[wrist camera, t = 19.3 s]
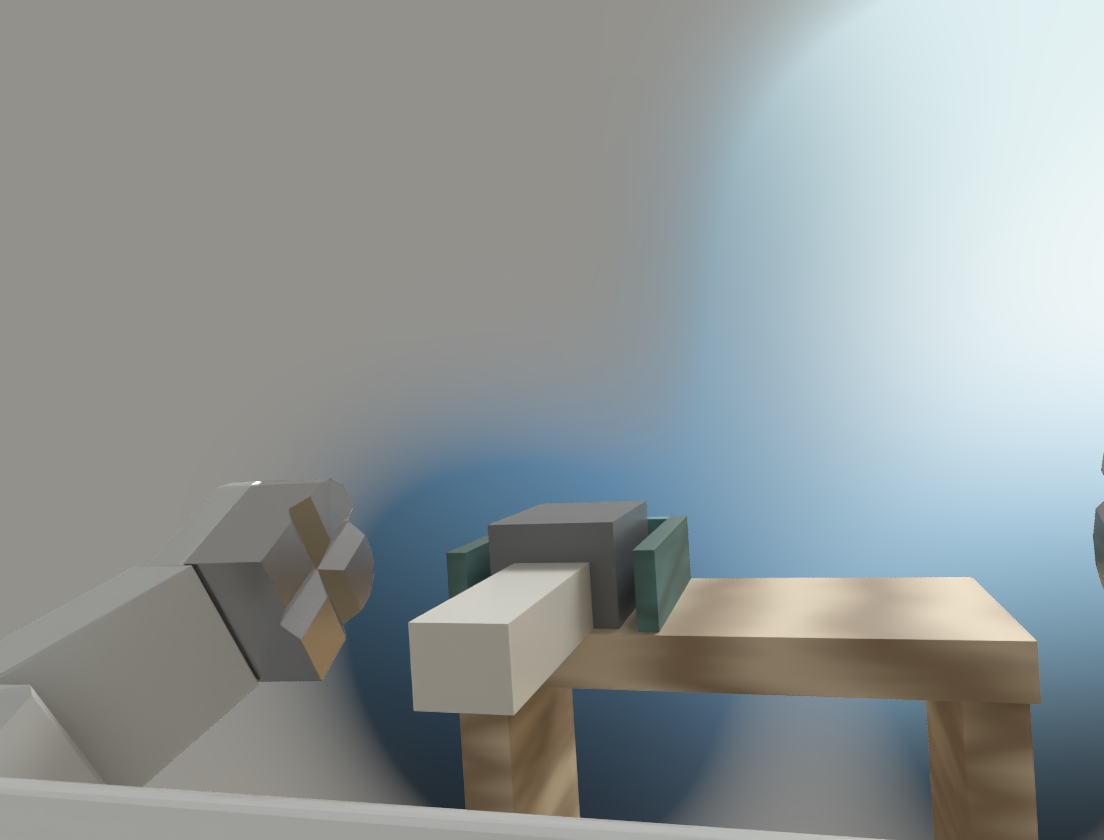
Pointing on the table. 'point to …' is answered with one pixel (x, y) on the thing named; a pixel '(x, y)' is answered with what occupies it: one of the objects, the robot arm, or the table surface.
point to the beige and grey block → (528, 606)
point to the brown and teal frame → (784, 676)
